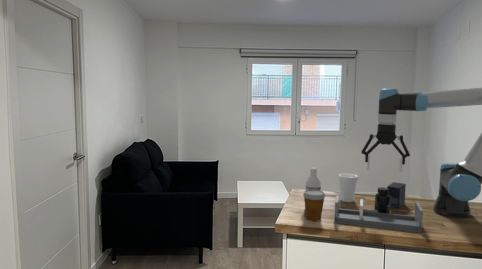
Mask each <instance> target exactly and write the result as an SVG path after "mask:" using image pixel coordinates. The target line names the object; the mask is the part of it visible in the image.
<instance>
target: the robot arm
mask: <svg viewBox="0 0 482 269" xmlns="http://www.w3.org/2000/svg"><path fill="white" fill-rule="evenodd" d="M471 106H482V87H476V88H475V87H474V88H462V89H461V88H459V89H458V88H457V89H450V90H449V89H448V90H435V91H424V92H422V91H421V92H407V93H406V92H405V93H401V92H399V90H398V88H381V89H380V90H379V96H378V111H377V112H378V115H377V123H378V124H377V128H376V129H377V130H376V134H374V133H370V134H369V137H368V139H367V141H366V143H365V145H364V146H363V148H362V149H361V151H360V152H361V154H363V155H364V156H365V157H364V162H365V163H367V168H366V169H367V170H368V171H369V170H370V162H371V161H370V160H371V155H370V154H371V153H372V151H374V150H375V149H376V148H377V147H378V146H379V145H380V144H381V145H386V146H387V145H388V146H390V145H392V146H393V148H395V150H396V151H397V152H398V153H399V155H400V157H399V168H398V171H399V173H402V172H403V165H405V164H406V158H407V157H410V156H411V154H410V151H409V150H408V148H407V146H406V143H405V142H404V136H403V135H402V134H399V135H396V130H397V129H396V128H397V127H396V126H397V125H396V123H397V112H399V111H404V112H405V111H408V112H426V111H427V110H428V109H434V108H435V109H440V108H452V107H453V108H455V107H471ZM375 138H376V139H377V141H376V142H375V143H373V145H372V146H371V147H370V148H369V149H368V147H369V146H370V144H371V142H372V140H374V139H375ZM396 139H397V140H398V141H399V142H400V144H401V146H402V148H403V151H404V152H405V153H404V152H403V151H402V150H401V148H399V146H398V144H396V143H395V140H396ZM367 170H366V171H367ZM439 171H440V172H439V184H438V186H439V187H438V195H437V198H436V199H435V201H434V204H433V212H435V213H437V214H439V215H442V216H446V217H451V218H458V219H459V218H460V219H461V218H469V217H470V216H471V212H472V211H471V206H470V203H469V202H471V201H472V200H475V199H477V197H478V196H479V195H480V193H481V192H482V191H481V190H482V132H481V133H480V134H479V136H478V138H477V140H476V141H475V142H474V144H473V145H472V147H471V148H470V150H469V151H468V153H467V155H466V156H465V157H464V159H463V160H462V161H459V162H456V163H452V162H451V163H449V162H448V163H447V162H446V163H442V164H441V165H440V168H439Z"/></svg>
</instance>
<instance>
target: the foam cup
mask: <svg viewBox="0 0 482 269" xmlns="http://www.w3.org/2000/svg"><path fill="white" fill-rule="evenodd" d="M337 176H338V185H339V195H340V201H342V202H346V203H353V202H354V200H355V196H356V194H355V193H356V189H357V185H358V179H359V178H358V177H359V175H357V174H355V173H347V172H344V173H339V174H338V175H337Z"/></svg>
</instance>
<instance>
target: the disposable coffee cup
mask: <svg viewBox="0 0 482 269" xmlns="http://www.w3.org/2000/svg"><path fill="white" fill-rule="evenodd" d="M302 196H303V200H304V209H305V219H306V220H307V221H311V222H319V221H321V219H322V214H323V209H324V208H323V207H324V203H325V198H326V195H325V192H324V191H323V190H321V191H320V190H306V189H305V190H304V192H303V194H302Z"/></svg>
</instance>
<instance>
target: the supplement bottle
mask: <svg viewBox="0 0 482 269" xmlns="http://www.w3.org/2000/svg"><path fill="white" fill-rule="evenodd" d="M388 193H389V189H388V188H387V187H382V186H379V187H377V193H375V195H374V206H373V210H378V213H388V214H391V208H390V205H391V196H390V195H389V194H388Z"/></svg>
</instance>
